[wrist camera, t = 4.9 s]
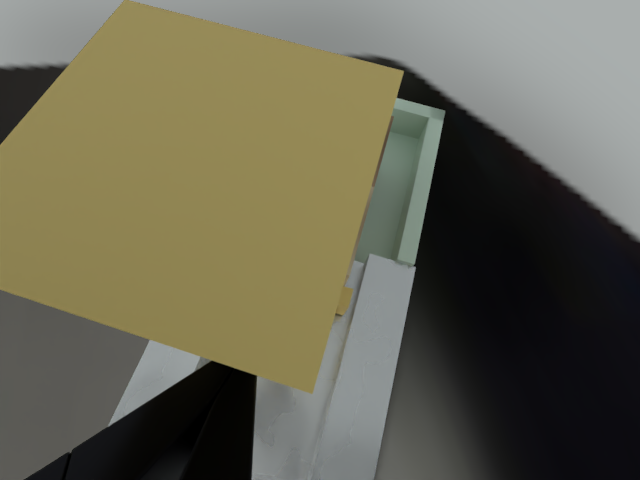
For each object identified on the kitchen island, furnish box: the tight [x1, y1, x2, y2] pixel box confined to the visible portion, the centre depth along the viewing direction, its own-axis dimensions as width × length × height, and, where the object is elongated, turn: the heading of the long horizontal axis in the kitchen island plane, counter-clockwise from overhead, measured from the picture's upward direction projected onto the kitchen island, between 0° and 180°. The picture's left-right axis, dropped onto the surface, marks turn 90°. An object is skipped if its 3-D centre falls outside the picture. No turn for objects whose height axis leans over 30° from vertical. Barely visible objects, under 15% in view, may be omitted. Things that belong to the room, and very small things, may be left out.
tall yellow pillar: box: [0, 0, 404, 394], centre depth 9 cm, size 4×5×13 cm
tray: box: [354, 98, 445, 266], centre depth 18 cm, size 10×10×3 cm
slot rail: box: [108, 254, 416, 480], centre depth 14 cm, size 16×10×3 cm, turn 163°
